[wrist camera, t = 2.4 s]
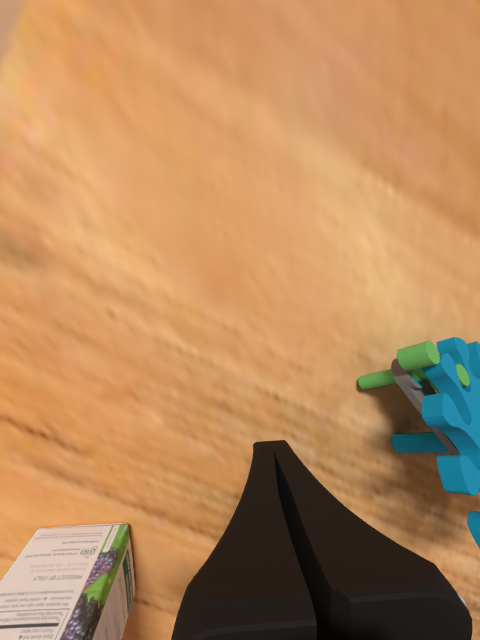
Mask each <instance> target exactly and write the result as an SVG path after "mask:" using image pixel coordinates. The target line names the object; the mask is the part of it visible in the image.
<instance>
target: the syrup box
mask: <svg viewBox="0 0 480 640" xmlns="http://www.w3.org/2000/svg"><path fill="white" fill-rule="evenodd" d="M135 590H136V588H135V581H134V568H133V559H132V550H131V542H130V535H129V526H128V524H127V523H113V524H94V525H75V526H61V527H46V528H39V529H38V530H37V531H36V533H35V534H34V535H33V537H32V538H31V539H30V541H29V542H28V543H27V545H26V546H25V548H24V549H23V550H22V552H21V553H20V555H19V556H18V558H17V559H16V560H15V562H14V563H13V565H12V566H11V567H10V568H9V570H8V571H7V572H6V574H5V575H4V577H3V578H2V580H1V581H0V640H122V637H123V633H124V629H125V626H126V622H127V619H128V615H129V611H130V608H131V605H132V601H133V598H134V595H135Z"/></svg>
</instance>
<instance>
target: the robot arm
mask: <svg viewBox="0 0 480 640" xmlns="http://www.w3.org/2000/svg"><path fill="white" fill-rule="evenodd" d="M465 604H466V603H465V601H464V599H463V598H462V596H461V595H460V594H457V593H456V591H455V590H454V588H453V587H452V586H451V584H450V583H449V582H448V580H447V579H446V578H445V577H444V575H443V574H442V573H441V572H440V571H439V569H438V568H437V567H436V565H435V564H434V563H432V562H430V561H428V560H426V559H424V558H423V557H421V556H419V555H417V554H415V553H413V552H412V551H410V550H408V549H406V548H404V547H402V546H401V545H399V544H397V543H396V542H394V541H393V540H391V539H389V538H388V537H386V536H385V535H383V534H382V533H380V532H379V531H377V530H376V529H374V528H373V527H371V526H370V525H369V524H367V523H366V522H364V521H363V520H362V519H360V518H359V517H358V516H356V515H355V514H354V513H352V512H351V511H350V510H349V509H347V508H346V507H345V506H344V505H343V504H342V503H340V502H339V501H338V500H337V499H336V498H335V497H334V496H333V495H332V494H331V493H330V492H329V491H328V490H327V489H326V488H325V487H324V486H323V485H322V484H321V483H320V482H319V481H318V480H317V479H316V478H315V477H314V476H313V475H312V474H311V472H310V471H309V470H308V469H307V468H306V467H305V466H304V464H303V463H302V462H301V461H300V459H299V458H298V457H297V456H296V454H295V453H294V452H293V450H292V449H291V447H290V446H289V445H288V443H287V442H286V441H285V440H279V441H265V442H255V443H254V444H253V459H252V464H251V468H250V472H249V476H248V480H247V483H246V485H245V488H244V491H243V494H242V497H241V499H240V502H239V504H238V506H237V509H236V511H235V513H234V515H233V517H232V519H231V521H230V523H229V525H228V527H227V529H226V530H225V532H224V534H223V536H222V537H221V539H220V541H219V542H218V544H217V545H216V547H215V548H214V550H213V552H212V553H211V555H210V556H209V558H208V559H207V561H206V562H205V563H204V565H203V566H202V567H201V569H200V570H199V571H198V573H197V574H196V575H195V576H194V578H193V579H192V580H191V582H190V583H189V584H188V586H187V589H186V592H185V594H184V597H183V600H182V603H181V606H180V609H179V612H178V615H177V618H176V622H175V625H174V630H173V634H172V638H171V640H471V637H472V618H471V616H470V613H469V611H468V609H467V607H466V606H465Z"/></svg>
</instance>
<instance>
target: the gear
mask: <svg viewBox="0 0 480 640" xmlns="http://www.w3.org/2000/svg"><path fill="white" fill-rule="evenodd" d="M437 348H438V351H439V353H440V355H439V353H438V351H437V349H436V347H435V346H434V344H433V343H431V342H430V341H427V342H423V343H420V344H416V345H413V346H410V347H406V348H403V349H399V350H398V351H397V359H394V360H393V362H392V365H391V369H390V370H386V371H382V372H378V373H374V374H369V375H365V376H361V377H359V379H358V383H359V386H360V387H361V388H362V389H364V390H365V389H370V388H375V387H380V386H385V385H390V384H394V383H397V384H398V386H399V387H400V388H401V390H402V391H403V392H404V394H405V395H406V396H407V397H408V399H409V400H410V401H411V403H412V404H413V405H414V407H415V408H416V409H417V410H418V412H419V413H420V414H421V416H422V418H423V420H424V422H425V423H426V424H427V425H428V426H429V427H431V429H432V430H433V431H434V432H425V433H406V434H394V435H393V436H392V438H391V441H392V446H393V448H394V450H395V451H396V452H399V453H450V454H451V455H439V456H438V457H437V466H438V471H439V474H440V478H441V481H442V484H443V488H444V490H445V491H446V492H448V493H456V494H466V495H476V494H477V493H478V491H479V492H480V344H479V343H478V342H473V343H470V344H466V343H465V341H463V340H462V339H460V338H456V337H453V338H450V339H446V340H443V341H439V342H437ZM426 379H427V380H428V381H429V383H430V384H429V383H428V382H427V380H426ZM430 385H431V386H432V387H431V386H430ZM433 389H435V390H436V391H439V392H440V394H436V392H435V391H434V390H433ZM467 524H468V527H469V529H470V532H471V534H472V536H473V538H474V540H475V541H476V543H477V545H478V546H479V548H480V512H476V511H471V512H469V514H468V518H467Z"/></svg>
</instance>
